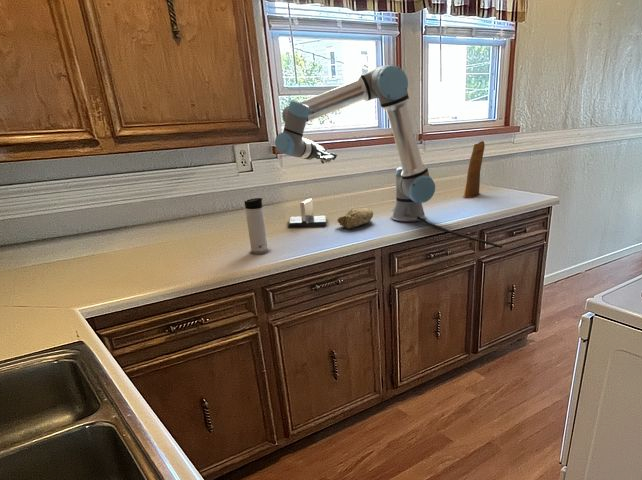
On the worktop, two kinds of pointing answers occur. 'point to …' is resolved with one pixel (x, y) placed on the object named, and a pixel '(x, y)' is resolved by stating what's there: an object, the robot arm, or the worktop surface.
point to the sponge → (355, 217)
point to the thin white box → (306, 210)
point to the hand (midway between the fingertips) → (334, 156)
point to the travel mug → (256, 226)
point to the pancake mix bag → (474, 171)
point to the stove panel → (308, 222)
